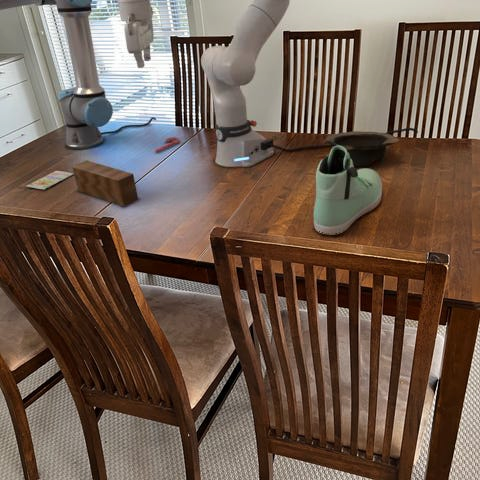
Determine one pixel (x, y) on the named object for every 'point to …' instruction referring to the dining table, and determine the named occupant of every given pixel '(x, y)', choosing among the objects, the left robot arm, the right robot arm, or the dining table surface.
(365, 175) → the sneaker
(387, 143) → the dark brown hat
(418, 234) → the dining table surface
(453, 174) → the dining table surface
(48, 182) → the baking ingredient package
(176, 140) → the candy cane
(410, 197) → the dining table surface
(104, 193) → the bar
